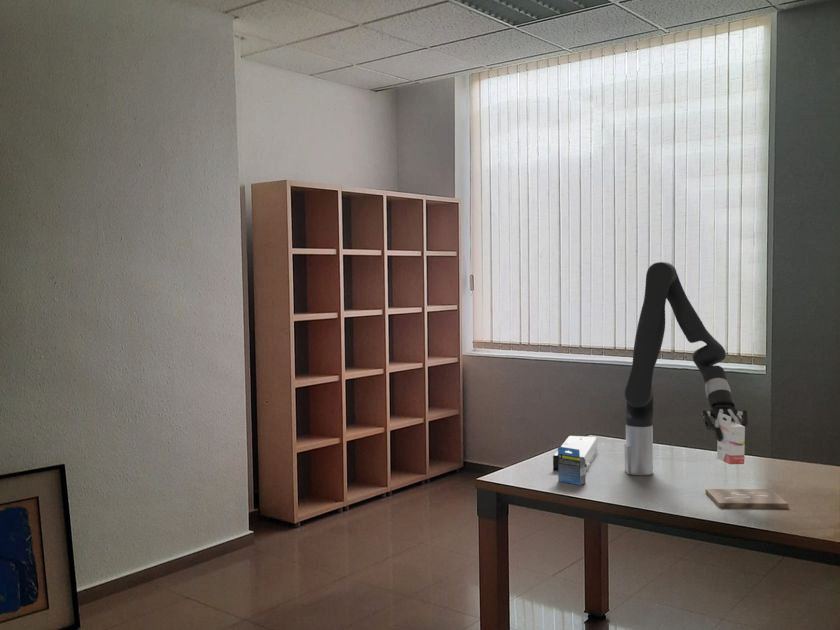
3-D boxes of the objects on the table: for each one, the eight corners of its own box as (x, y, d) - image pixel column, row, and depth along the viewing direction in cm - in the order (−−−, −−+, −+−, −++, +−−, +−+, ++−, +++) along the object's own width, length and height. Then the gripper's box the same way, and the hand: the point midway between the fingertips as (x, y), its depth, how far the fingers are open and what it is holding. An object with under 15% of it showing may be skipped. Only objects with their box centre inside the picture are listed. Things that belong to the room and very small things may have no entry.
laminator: (569, 450, 309) (568, 435, 309) (600, 452, 305) (599, 437, 305) (553, 472, 278) (553, 455, 277) (587, 474, 273) (587, 457, 273)
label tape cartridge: (586, 483, 261) (585, 447, 260) (580, 486, 258) (579, 449, 257) (563, 479, 267) (563, 444, 266) (557, 481, 264) (557, 446, 263)
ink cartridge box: (745, 464, 234) (746, 416, 233) (729, 465, 234) (730, 417, 233) (731, 457, 243) (732, 411, 242) (716, 458, 242) (717, 411, 241)
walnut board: (719, 508, 231) (719, 502, 231) (705, 493, 246) (705, 488, 246) (788, 508, 229) (788, 503, 229) (770, 493, 244) (770, 488, 244)
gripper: (698, 388, 246) (709, 433, 235) (744, 388, 245) (757, 433, 234) (694, 402, 252) (704, 446, 241) (739, 401, 251) (751, 446, 240)
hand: (730, 439), depth 238 cm, fingers closed on ink cartridge box, 5 cm apart
